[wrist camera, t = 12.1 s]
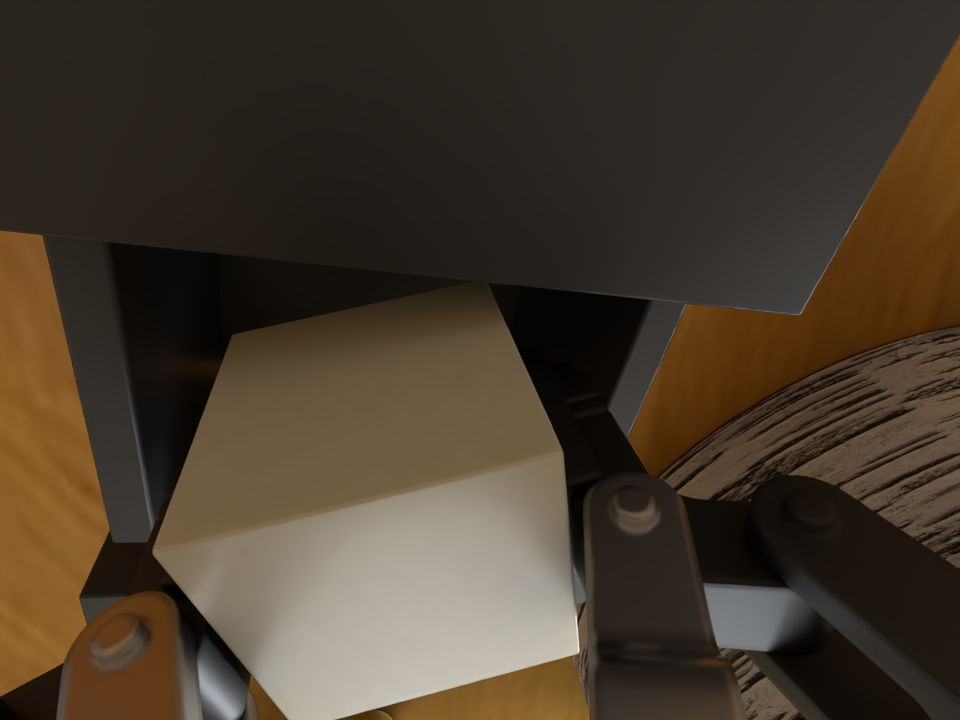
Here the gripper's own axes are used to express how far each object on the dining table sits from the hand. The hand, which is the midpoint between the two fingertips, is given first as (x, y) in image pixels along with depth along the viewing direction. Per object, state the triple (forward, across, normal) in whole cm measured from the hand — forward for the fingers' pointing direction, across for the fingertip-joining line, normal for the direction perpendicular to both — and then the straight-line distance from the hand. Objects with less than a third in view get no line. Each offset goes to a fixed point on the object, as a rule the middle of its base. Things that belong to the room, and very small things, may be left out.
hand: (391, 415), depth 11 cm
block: (0, 0, 0) cm, 0 cm away
